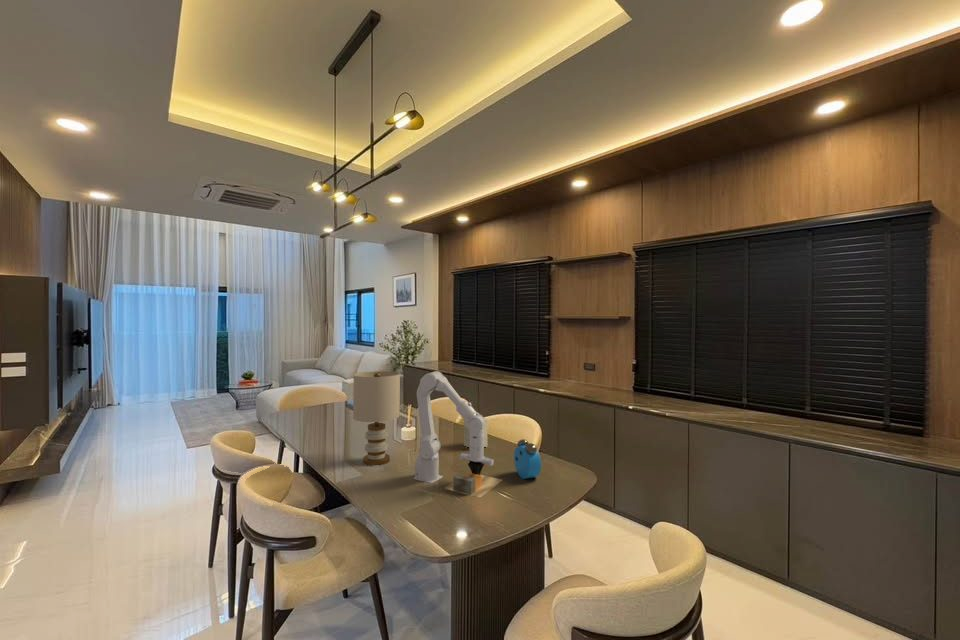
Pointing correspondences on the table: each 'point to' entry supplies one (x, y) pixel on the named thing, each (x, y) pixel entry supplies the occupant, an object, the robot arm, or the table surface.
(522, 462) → the alarm clock
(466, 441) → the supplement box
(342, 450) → the table surface
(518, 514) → the table surface
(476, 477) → the lock
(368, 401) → the lamp
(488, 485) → the dock
